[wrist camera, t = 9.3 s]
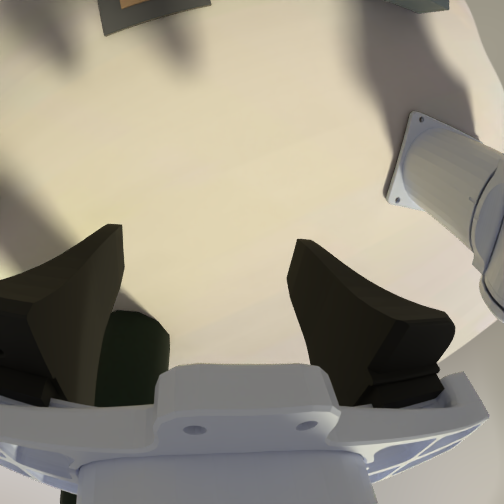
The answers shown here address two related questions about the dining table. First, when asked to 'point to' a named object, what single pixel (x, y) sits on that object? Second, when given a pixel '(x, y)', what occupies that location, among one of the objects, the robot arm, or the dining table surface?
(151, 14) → the card
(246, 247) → the dining table surface
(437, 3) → the slate plinth
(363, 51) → the dining table surface
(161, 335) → the wine bottle
